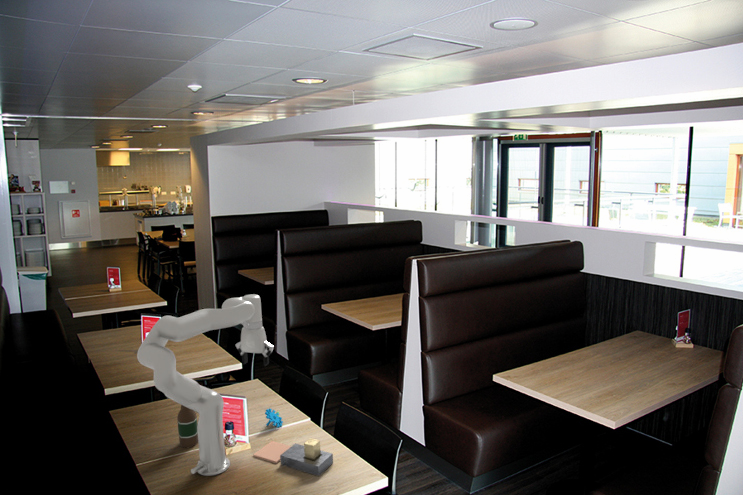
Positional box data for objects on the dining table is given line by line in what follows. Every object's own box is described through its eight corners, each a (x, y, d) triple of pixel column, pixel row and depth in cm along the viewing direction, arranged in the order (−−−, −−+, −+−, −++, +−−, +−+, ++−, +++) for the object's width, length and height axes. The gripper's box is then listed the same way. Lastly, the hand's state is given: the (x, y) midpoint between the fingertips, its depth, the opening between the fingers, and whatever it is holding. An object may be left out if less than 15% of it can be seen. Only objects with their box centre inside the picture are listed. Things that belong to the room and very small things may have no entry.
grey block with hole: (318, 476, 203) (318, 466, 202) (280, 464, 212) (280, 455, 211) (333, 463, 212) (332, 453, 211) (296, 452, 220) (295, 443, 220)
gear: (278, 428, 237) (263, 411, 239) (270, 437, 238) (254, 420, 240) (287, 420, 248) (273, 403, 249) (279, 428, 249) (264, 412, 250)
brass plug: (314, 470, 207) (313, 445, 206) (305, 467, 209) (304, 443, 208) (321, 464, 211) (319, 440, 209) (311, 461, 213) (310, 438, 212)
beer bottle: (175, 445, 228) (170, 392, 225) (189, 437, 235) (184, 385, 232) (189, 449, 225) (184, 395, 221) (202, 441, 232) (198, 388, 228)
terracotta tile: (276, 463, 212) (276, 461, 212) (253, 456, 218) (253, 454, 218) (295, 449, 223) (294, 447, 223) (272, 442, 229) (272, 440, 228)
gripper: (229, 326, 220) (232, 366, 223) (267, 328, 215) (270, 369, 218) (239, 320, 227) (241, 359, 230) (276, 323, 222) (278, 362, 225)
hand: (255, 364), depth 224 cm, fingers open, 9 cm apart
